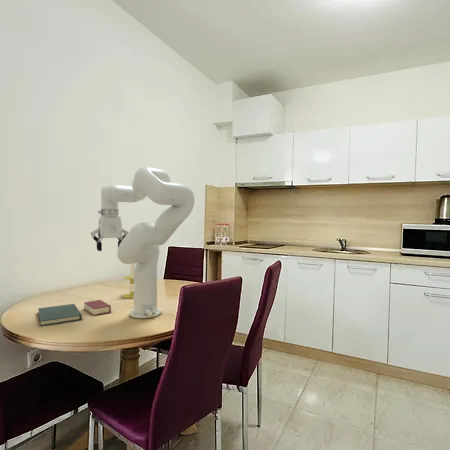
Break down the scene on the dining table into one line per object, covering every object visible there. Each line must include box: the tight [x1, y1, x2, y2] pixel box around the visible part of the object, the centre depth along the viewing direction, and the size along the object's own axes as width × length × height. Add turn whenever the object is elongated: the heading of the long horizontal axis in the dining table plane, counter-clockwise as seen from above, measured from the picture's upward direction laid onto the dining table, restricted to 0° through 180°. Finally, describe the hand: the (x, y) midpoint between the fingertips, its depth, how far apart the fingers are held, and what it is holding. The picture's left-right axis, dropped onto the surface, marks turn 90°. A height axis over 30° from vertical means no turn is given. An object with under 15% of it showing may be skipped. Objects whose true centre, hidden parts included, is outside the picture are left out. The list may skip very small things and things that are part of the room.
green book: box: [37, 303, 82, 327], centre depth 133 cm, size 20×14×2 cm
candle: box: [122, 263, 136, 299], centre depth 168 cm, size 10×10×27 cm
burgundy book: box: [83, 299, 112, 317], centre depth 141 cm, size 13×7×3 cm, turn 41°
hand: (110, 250), depth 150 cm, fingers open, 9 cm apart
